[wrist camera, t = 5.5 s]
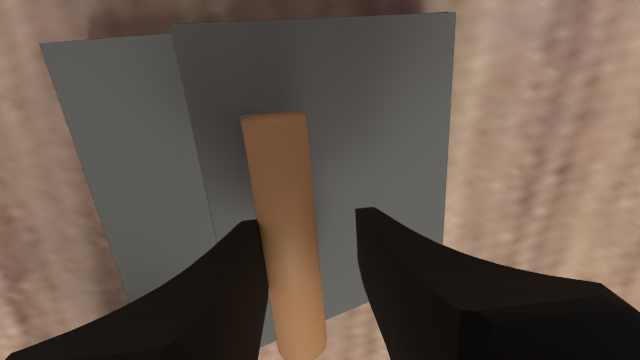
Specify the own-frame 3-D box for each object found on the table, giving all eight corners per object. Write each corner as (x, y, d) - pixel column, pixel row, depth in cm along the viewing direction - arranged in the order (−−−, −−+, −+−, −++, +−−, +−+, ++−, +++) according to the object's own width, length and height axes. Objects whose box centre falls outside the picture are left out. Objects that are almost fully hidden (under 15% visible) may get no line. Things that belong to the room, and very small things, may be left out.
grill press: (238, 345, 16) (268, 443, 12) (169, 25, 11) (179, 1, 7) (433, 266, 20) (505, 316, 16) (445, 14, 15) (552, -5, 11)
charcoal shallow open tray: (155, 269, 23) (130, 307, 19) (88, 45, 18) (39, 43, 14) (418, 241, 23) (439, 272, 20) (425, 18, 18) (454, 10, 15)
